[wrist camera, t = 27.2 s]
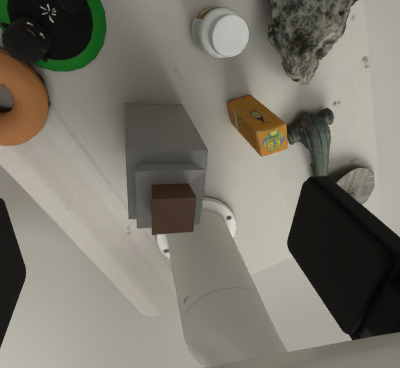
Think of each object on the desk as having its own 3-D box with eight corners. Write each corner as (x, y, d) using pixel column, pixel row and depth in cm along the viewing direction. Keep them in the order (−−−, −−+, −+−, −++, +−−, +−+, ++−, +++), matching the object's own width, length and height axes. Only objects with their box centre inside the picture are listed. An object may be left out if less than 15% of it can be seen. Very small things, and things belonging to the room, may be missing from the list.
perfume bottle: (179, 155, 40) (212, 246, 25) (127, 155, 39) (129, 253, 23) (182, 104, 37) (222, 175, 22) (125, 103, 35) (125, 178, 20)
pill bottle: (230, 6, 32) (256, 7, 26) (228, 50, 35) (252, 61, 28) (190, 7, 32) (206, 7, 25) (191, 52, 34) (206, 63, 27)
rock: (282, 3, 38) (253, -48, 30) (358, -27, 34) (349, -97, 25) (290, 98, 38) (262, 73, 29) (367, 81, 33) (361, 46, 25)
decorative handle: (277, 122, 40) (294, 136, 36) (322, 97, 40) (345, 108, 36) (304, 198, 48) (321, 217, 44) (342, 178, 48) (363, 195, 44)
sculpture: (322, 241, 53) (345, 250, 45) (292, 198, 53) (309, 200, 45) (376, 202, 53) (409, 204, 45) (347, 159, 53) (374, 154, 45)
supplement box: (230, 125, 39) (259, 159, 31) (226, 100, 38) (255, 128, 29) (254, 118, 40) (289, 150, 31) (251, 93, 38) (287, 119, 29)
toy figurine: (126, 21, 31) (127, 25, 26) (65, 91, 33) (55, 106, 28) (36, -76, 26) (16, -94, 21) (-29, 14, 28) (-62, 16, 23)
